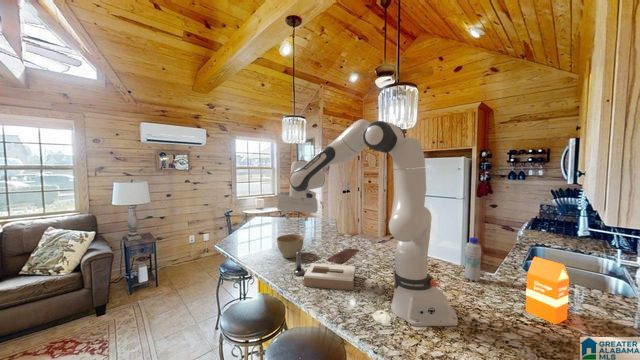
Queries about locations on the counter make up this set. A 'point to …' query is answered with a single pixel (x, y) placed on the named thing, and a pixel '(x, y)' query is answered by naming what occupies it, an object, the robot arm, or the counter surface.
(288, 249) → the planter bowl
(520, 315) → the counter surface
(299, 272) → the peg
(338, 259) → the wooden tablet
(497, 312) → the counter surface
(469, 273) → the bottle
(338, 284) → the keyhole plate
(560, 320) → the orange juice
